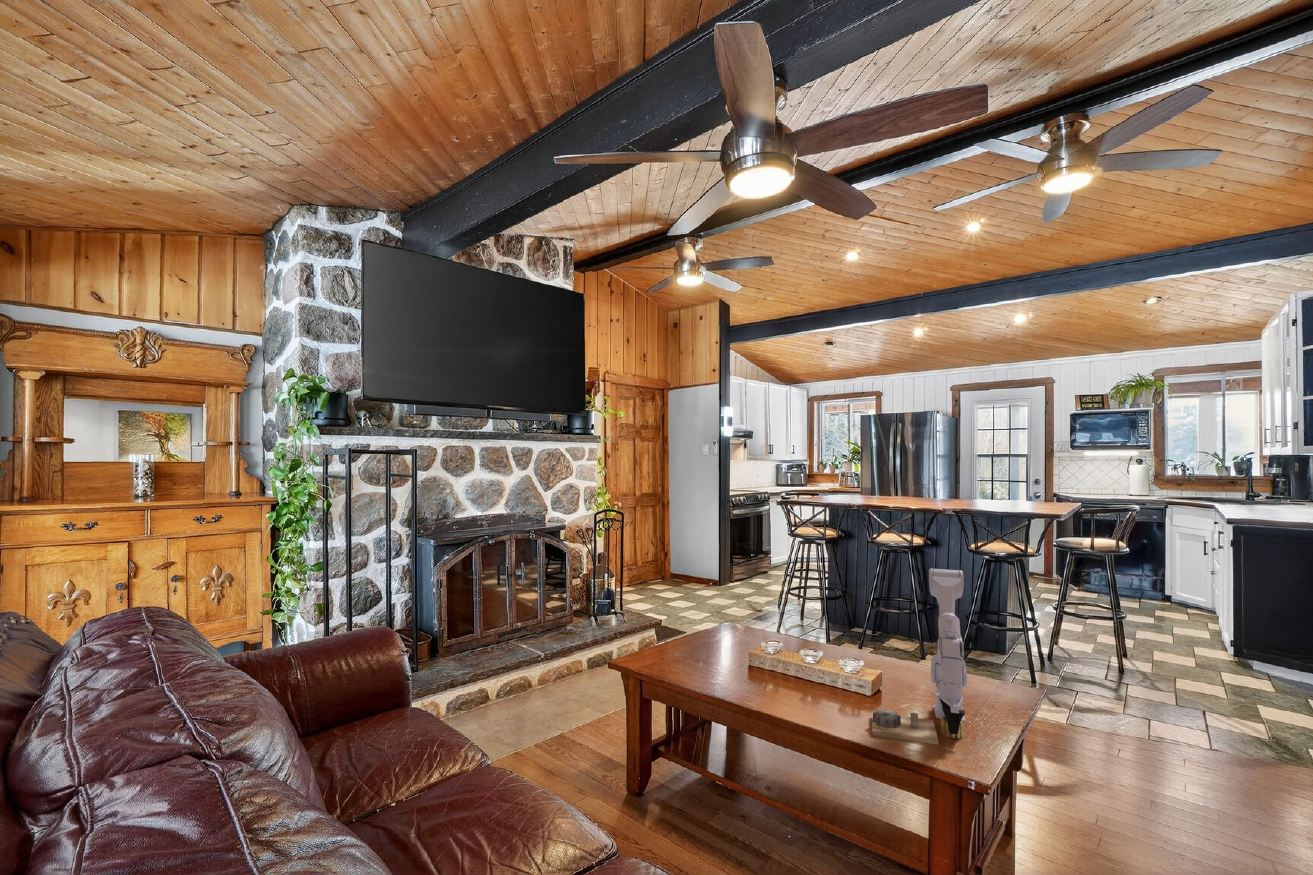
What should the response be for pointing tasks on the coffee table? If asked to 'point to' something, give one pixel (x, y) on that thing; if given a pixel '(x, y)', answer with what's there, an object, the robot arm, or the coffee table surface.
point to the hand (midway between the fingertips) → (951, 728)
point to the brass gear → (946, 732)
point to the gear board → (903, 727)
